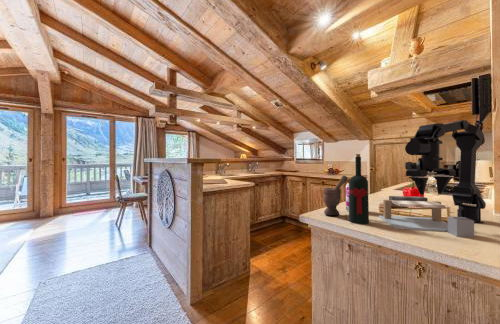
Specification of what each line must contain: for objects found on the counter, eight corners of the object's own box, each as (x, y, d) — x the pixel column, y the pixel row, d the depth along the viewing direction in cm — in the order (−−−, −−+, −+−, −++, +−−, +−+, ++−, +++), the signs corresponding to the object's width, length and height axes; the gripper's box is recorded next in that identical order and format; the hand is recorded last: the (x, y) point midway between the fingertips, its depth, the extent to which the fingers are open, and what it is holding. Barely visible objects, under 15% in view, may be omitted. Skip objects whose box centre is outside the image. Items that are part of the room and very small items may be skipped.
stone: (463, 233, 81) (463, 217, 81) (474, 237, 76) (474, 220, 76) (447, 232, 82) (447, 216, 82) (457, 236, 77) (456, 219, 77)
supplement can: (355, 213, 113) (355, 184, 113) (342, 210, 120) (342, 183, 120) (366, 212, 116) (366, 183, 116) (353, 209, 123) (353, 182, 124)
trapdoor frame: (434, 219, 100) (434, 199, 100) (465, 232, 82) (464, 208, 82) (379, 217, 105) (378, 198, 105) (395, 228, 87) (395, 205, 87)
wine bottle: (349, 224, 93) (348, 153, 93) (348, 218, 102) (348, 154, 103) (370, 226, 90) (369, 153, 90) (367, 220, 99) (367, 154, 100)
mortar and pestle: (346, 213, 114) (346, 174, 114) (348, 217, 106) (348, 175, 106) (323, 211, 118) (322, 174, 118) (323, 215, 109) (323, 175, 110)
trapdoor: (425, 204, 101) (425, 196, 101) (445, 211, 87) (445, 202, 87) (386, 203, 105) (386, 195, 105) (399, 209, 91) (399, 200, 91)
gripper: (428, 156, 98) (428, 190, 98) (393, 156, 94) (394, 192, 94) (456, 155, 88) (457, 194, 88) (419, 155, 83) (419, 196, 83)
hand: (430, 194), depth 88 cm, fingers open, 9 cm apart
